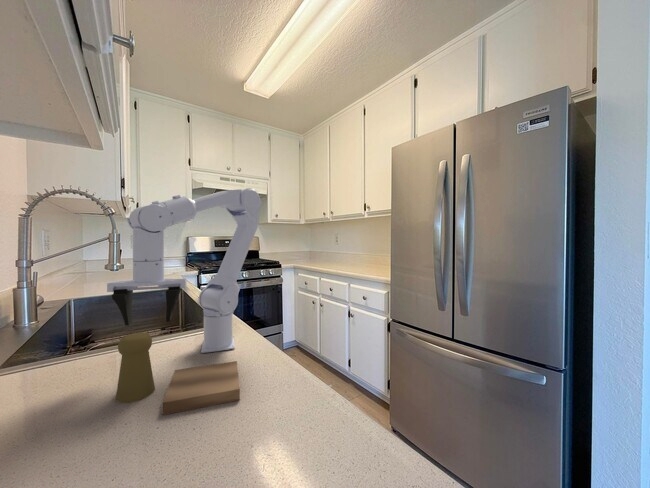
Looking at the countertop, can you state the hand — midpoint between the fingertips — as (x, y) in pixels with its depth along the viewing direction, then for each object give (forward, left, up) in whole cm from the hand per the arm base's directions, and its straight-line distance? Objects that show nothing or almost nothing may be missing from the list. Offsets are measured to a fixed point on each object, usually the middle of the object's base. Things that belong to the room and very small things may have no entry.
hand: (149, 322), depth 60 cm
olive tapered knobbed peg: (+10, 0, -11) cm, 15 cm away
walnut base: (+13, +12, -10) cm, 20 cm away
